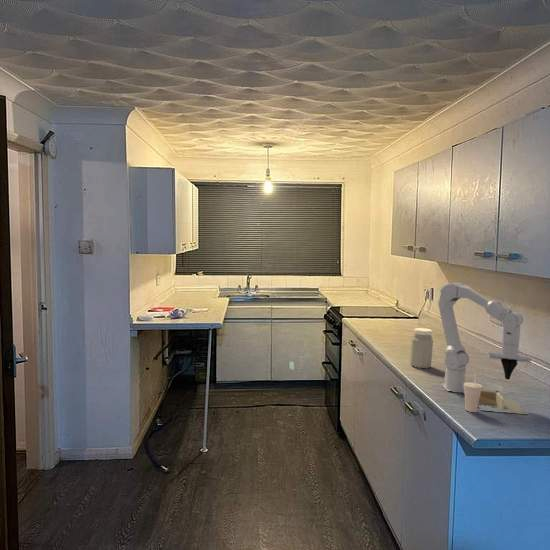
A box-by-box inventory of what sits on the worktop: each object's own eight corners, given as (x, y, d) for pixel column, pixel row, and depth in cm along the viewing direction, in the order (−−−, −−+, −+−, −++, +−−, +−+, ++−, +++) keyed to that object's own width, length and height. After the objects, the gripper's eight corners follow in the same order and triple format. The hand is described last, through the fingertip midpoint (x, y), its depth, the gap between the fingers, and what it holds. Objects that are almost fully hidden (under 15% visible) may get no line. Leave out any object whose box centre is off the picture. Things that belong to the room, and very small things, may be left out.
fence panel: (495, 402, 188) (496, 392, 188) (497, 402, 188) (498, 392, 188) (500, 409, 180) (501, 399, 180) (503, 410, 180) (504, 399, 180)
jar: (432, 370, 233) (434, 332, 231) (410, 367, 235) (413, 330, 233) (429, 364, 243) (432, 328, 241) (409, 362, 244) (411, 326, 243)
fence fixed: (470, 401, 190) (472, 388, 190) (496, 403, 189) (497, 390, 189) (471, 402, 189) (472, 389, 189) (497, 404, 188) (498, 391, 188)
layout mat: (468, 396, 196) (468, 395, 196) (512, 400, 194) (512, 399, 194) (480, 411, 180) (480, 410, 180) (528, 415, 178) (528, 414, 178)
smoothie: (480, 415, 176) (483, 376, 174) (461, 412, 178) (464, 374, 177) (480, 409, 181) (483, 372, 180) (461, 406, 184) (464, 369, 183)
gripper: (529, 343, 190) (525, 378, 191) (488, 339, 193) (485, 373, 195) (533, 347, 183) (529, 383, 184) (491, 343, 187) (487, 378, 188)
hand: (507, 378), depth 189 cm, fingers closed
